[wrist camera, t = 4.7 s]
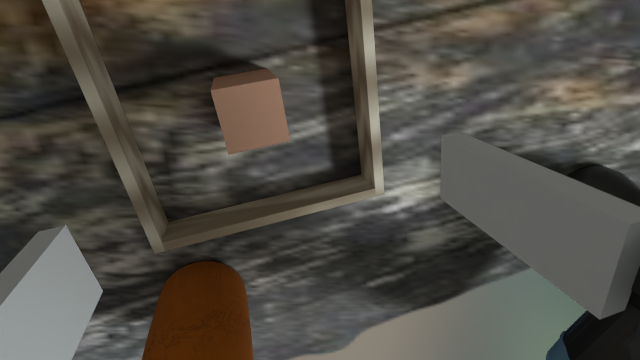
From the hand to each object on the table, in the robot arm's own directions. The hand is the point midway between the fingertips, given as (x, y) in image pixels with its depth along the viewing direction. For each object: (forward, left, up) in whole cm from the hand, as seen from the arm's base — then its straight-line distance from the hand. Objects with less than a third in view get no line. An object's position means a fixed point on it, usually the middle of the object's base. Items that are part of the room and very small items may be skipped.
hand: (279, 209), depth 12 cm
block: (0, 0, -23) cm, 23 cm away
